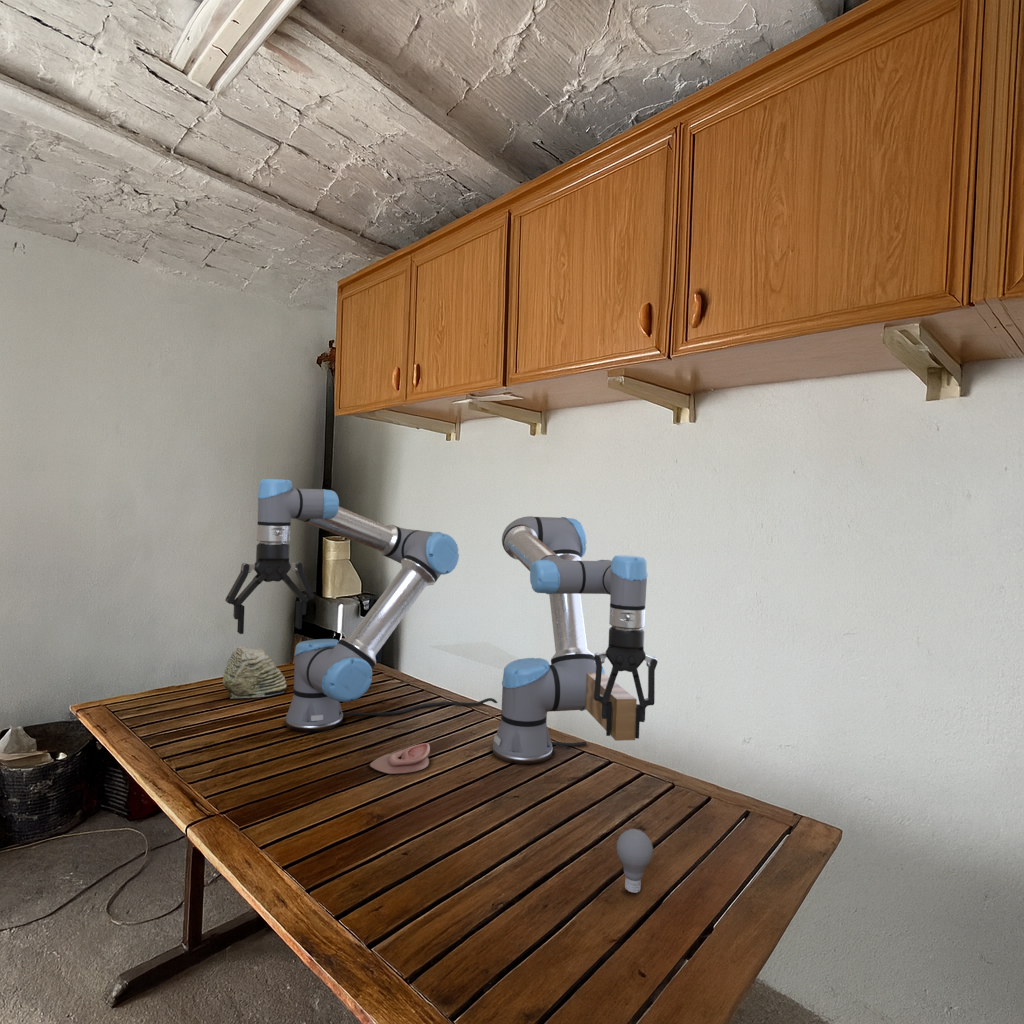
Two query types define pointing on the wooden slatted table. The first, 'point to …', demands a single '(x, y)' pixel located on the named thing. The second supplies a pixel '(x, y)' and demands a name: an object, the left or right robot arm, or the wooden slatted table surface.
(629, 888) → the light bulb
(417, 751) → the anatomical model
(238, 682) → the fossil
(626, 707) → the bar
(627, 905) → the wooden slatted table surface
